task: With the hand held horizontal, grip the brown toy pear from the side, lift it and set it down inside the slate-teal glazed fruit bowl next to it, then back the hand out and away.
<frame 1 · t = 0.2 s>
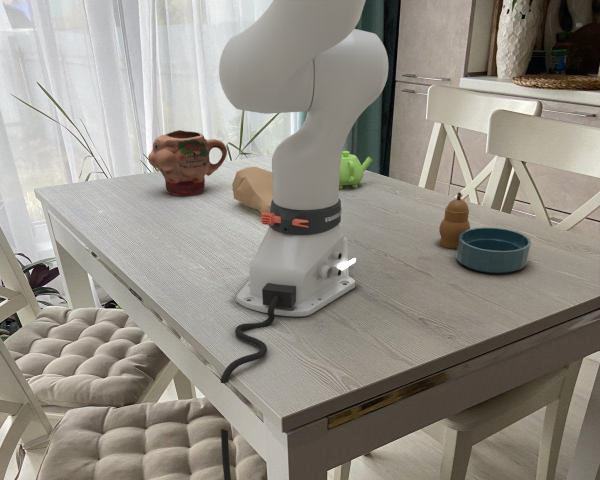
bowl: (490, 261, 116), on the table
squash: (262, 211, 144), on the table
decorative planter: (192, 191, 159), on the table
teapot: (343, 185, 162), on the table
pear: (452, 244, 124), on the table
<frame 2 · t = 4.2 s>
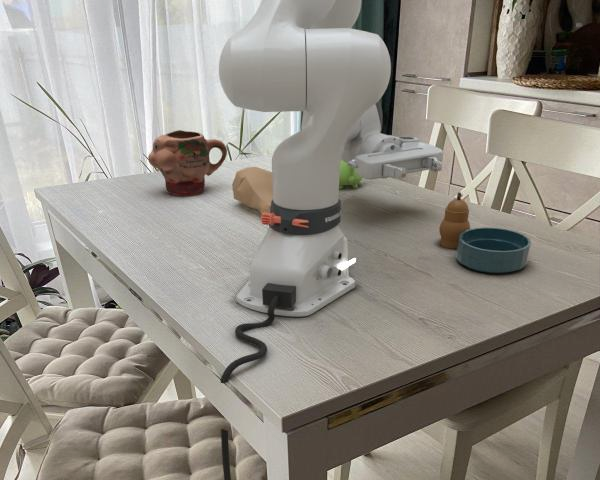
hand: (421, 170, 126), 12 cm above the table, tool horizontal, fingers open, 8 cm apart
nothing on the table moved.
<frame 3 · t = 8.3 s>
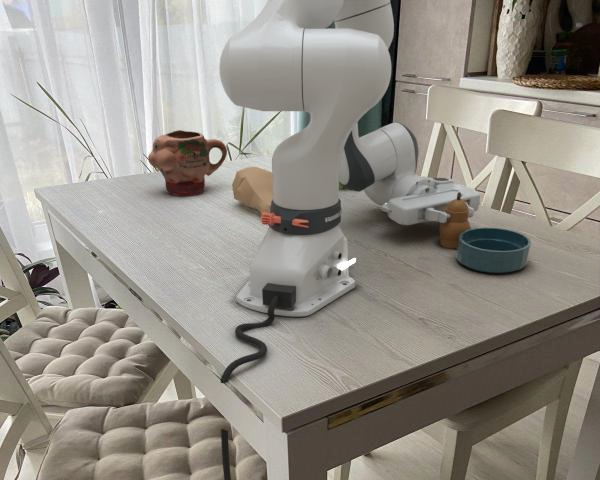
hand: (459, 216, 120), 6 cm above the table, tool horizontal, fingers closed on pear, 4 cm apart
pear: (452, 244, 124), on the table, touching gripper
everything else where it was.
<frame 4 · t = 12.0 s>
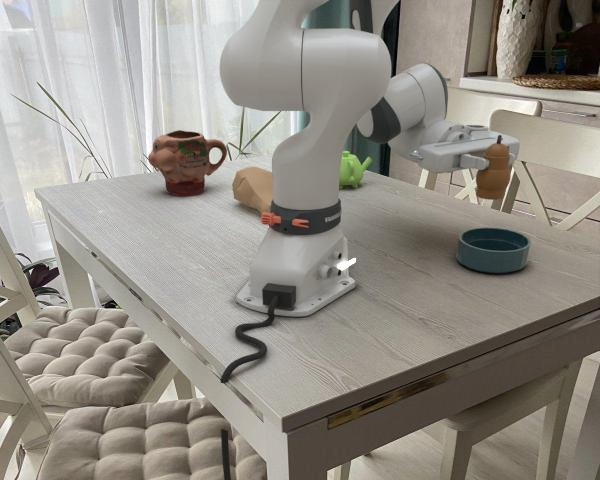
hand: (499, 162, 108), 18 cm above the table, tool horizontal, fingers closed on pear, 4 cm apart
pear: (490, 195, 112), point 12 cm above the table, touching gripper
everything else where it was.
when the fingers open (7 cm above the table, at t = 15.8 s): pear stays where it is, resting on bowl.
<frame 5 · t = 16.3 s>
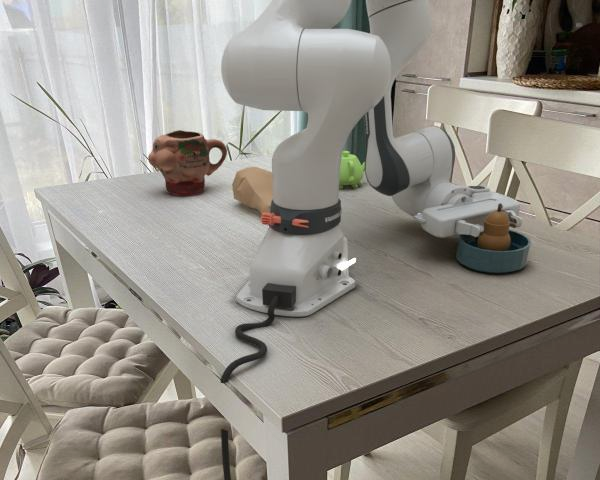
hand: (500, 227, 112), 7 cm above the table, tool horizontal, fingers open, 8 cm apart
pear: (490, 258, 116), point 1 cm above the table, touching bowl
everything else where it was.
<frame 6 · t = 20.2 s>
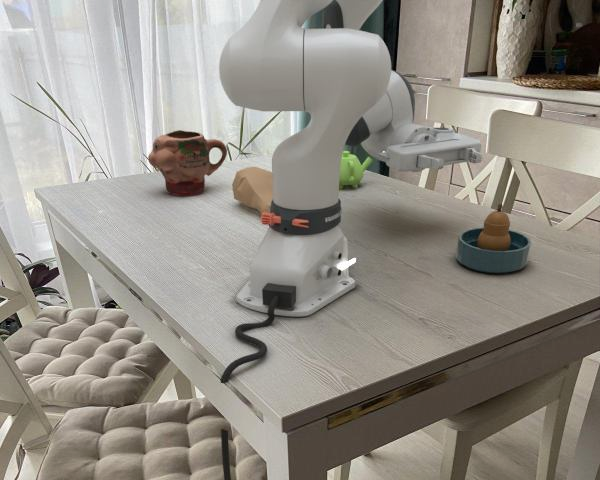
hand: (460, 161, 116), 16 cm above the table, tool horizontal, fingers open, 8 cm apart
nothing on the table moved.
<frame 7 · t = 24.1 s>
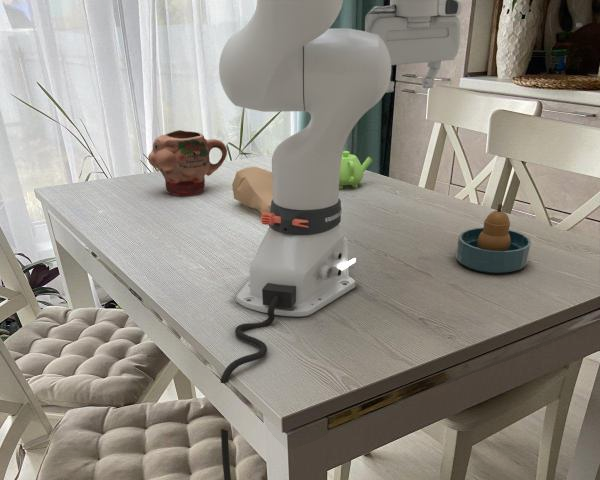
hand: (407, 90, 117), 27 cm above the table, tool pointing down, fingers open, 8 cm apart
nothing on the table moved.
at the end: pear inside the target area in the bowl (0.2 cm from its centre), point 0.6 cm above the bowl's base; the gripper is holding nothing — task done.
